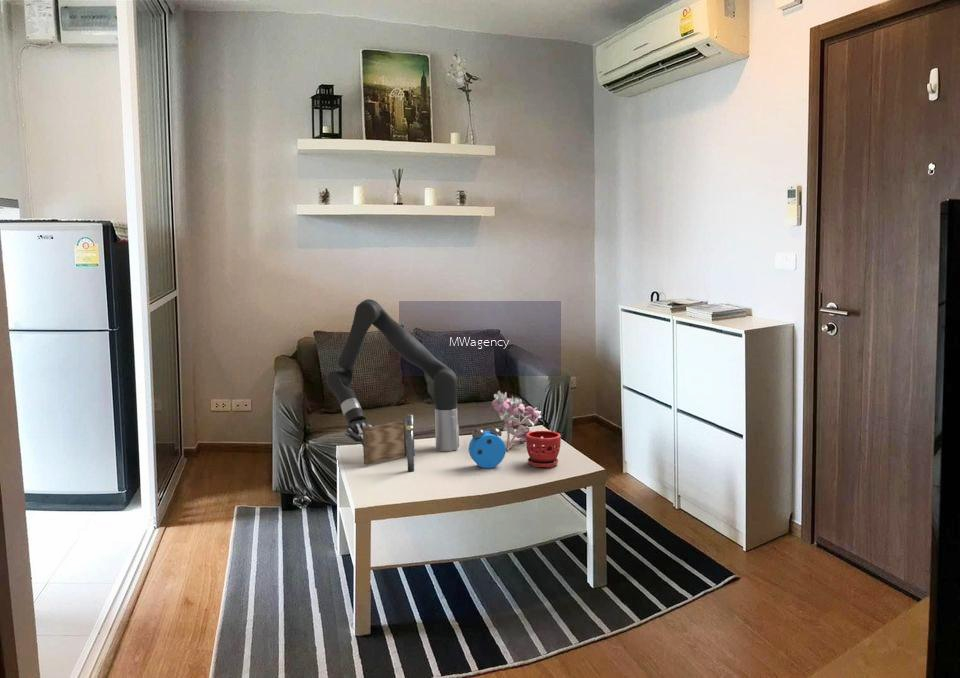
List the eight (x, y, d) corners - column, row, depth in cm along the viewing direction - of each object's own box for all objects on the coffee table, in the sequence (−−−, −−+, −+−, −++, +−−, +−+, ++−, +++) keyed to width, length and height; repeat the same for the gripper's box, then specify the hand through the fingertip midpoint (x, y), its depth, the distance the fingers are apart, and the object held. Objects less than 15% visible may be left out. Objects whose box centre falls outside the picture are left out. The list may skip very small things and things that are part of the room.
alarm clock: (501, 462, 275) (500, 424, 273) (506, 467, 269) (505, 428, 267) (468, 466, 271) (467, 427, 269) (473, 470, 266) (472, 431, 264)
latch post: (415, 469, 268) (414, 425, 266) (413, 472, 265) (412, 427, 263) (408, 469, 268) (406, 425, 266) (406, 472, 266) (404, 427, 263)
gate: (405, 454, 284) (404, 418, 282) (408, 456, 283) (406, 419, 281) (363, 464, 273) (362, 426, 271) (366, 465, 272) (364, 427, 270)
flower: (550, 449, 286) (548, 388, 294) (496, 447, 282) (495, 386, 290) (536, 457, 305) (534, 400, 313) (484, 455, 300) (484, 398, 308)
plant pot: (561, 469, 265) (561, 438, 264) (526, 469, 266) (526, 438, 264) (559, 459, 278) (559, 429, 277) (526, 459, 279) (525, 429, 277)
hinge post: (415, 455, 286) (414, 414, 284) (413, 457, 283) (412, 415, 281) (408, 455, 286) (407, 414, 284) (407, 457, 284) (406, 415, 281)
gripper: (340, 409, 280) (355, 446, 272) (370, 404, 287) (386, 440, 279) (335, 420, 285) (350, 456, 277) (364, 414, 292) (380, 450, 284)
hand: (368, 448), depth 278 cm, fingers closed
